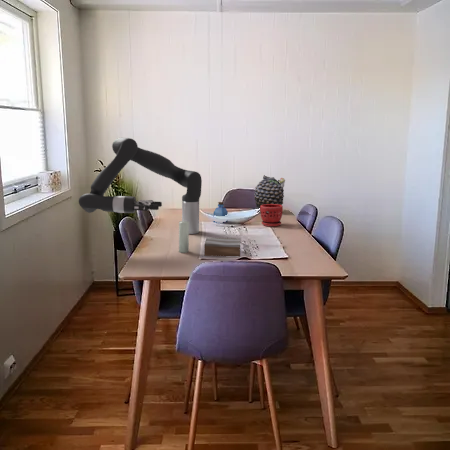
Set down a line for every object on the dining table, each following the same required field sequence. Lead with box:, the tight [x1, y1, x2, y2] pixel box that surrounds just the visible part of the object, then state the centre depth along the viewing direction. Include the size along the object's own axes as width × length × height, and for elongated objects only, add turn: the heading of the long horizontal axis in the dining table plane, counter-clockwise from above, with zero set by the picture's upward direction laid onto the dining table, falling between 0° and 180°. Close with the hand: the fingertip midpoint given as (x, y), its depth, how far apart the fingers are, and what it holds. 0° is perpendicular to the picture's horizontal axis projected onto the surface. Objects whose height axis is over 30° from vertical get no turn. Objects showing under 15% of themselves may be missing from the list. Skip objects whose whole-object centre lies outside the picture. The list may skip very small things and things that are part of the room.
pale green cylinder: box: [178, 220, 190, 254], centre depth 217 cm, size 4×4×14 cm
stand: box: [203, 237, 241, 257], centre depth 217 cm, size 12×16×6 cm
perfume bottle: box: [212, 201, 229, 224], centre depth 284 cm, size 6×6×12 cm
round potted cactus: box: [253, 174, 286, 213], centre depth 317 cm, size 21×15×25 cm
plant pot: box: [259, 204, 284, 227], centre depth 279 cm, size 13×13×12 cm
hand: (160, 205), depth 214 cm, fingers open, 8 cm apart
